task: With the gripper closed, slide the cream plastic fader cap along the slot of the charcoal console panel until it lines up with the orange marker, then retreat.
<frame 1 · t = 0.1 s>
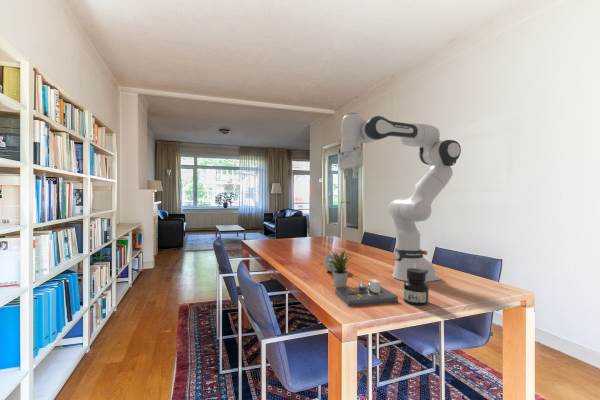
hand: (350, 178, 139), 48 cm above the table, fingers open, 8 cm apart
console: (365, 297, 118), on the table
fader cap: (374, 285, 119), point 4 cm above the table, slide at -4.0 cm
house plant: (339, 285, 135), on the table
ink bottle: (415, 302, 114), on the table
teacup: (333, 272, 157), on the table
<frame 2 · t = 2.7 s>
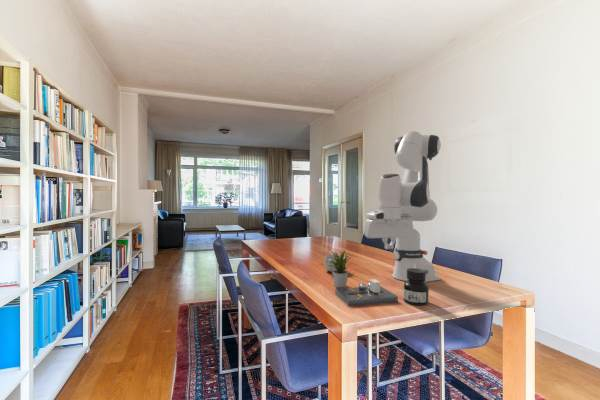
hand: (388, 248, 120), 19 cm above the table, fingers closed
nothing on the table moved.
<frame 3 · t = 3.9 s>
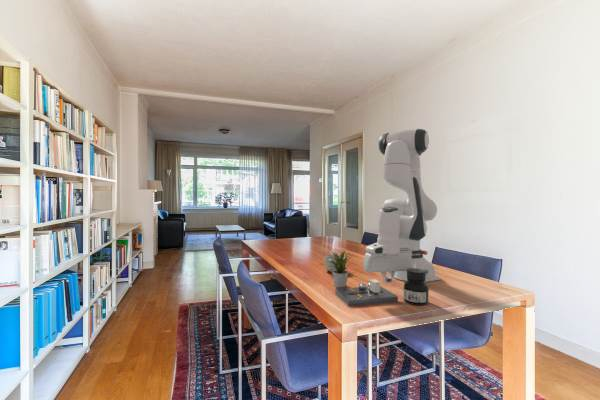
hand: (387, 282, 120), 6 cm above the table, fingers closed
nothing on the table moved.
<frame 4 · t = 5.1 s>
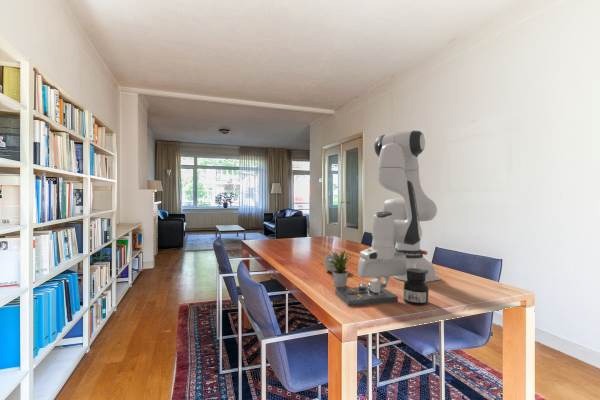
hand: (382, 287, 120), 4 cm above the table, fingers closed
fader cap: (374, 285, 119), point 4 cm above the table, slide at -4.0 cm, touching gripper
everything else where it was.
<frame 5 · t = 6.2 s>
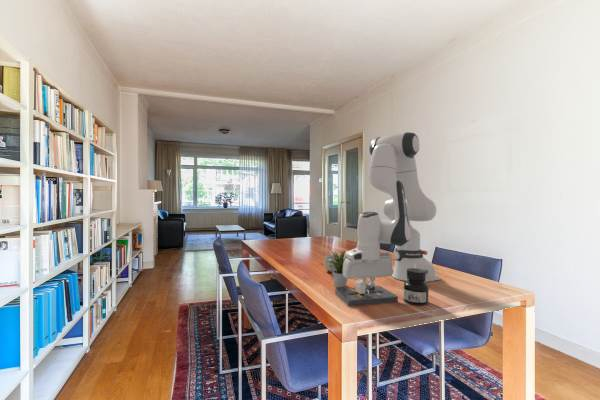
hand: (367, 288, 118), 4 cm above the table, fingers closed
fader cap: (360, 286, 118), point 4 cm above the table, slide at 2.3 cm, touching gripper
everything else where it was.
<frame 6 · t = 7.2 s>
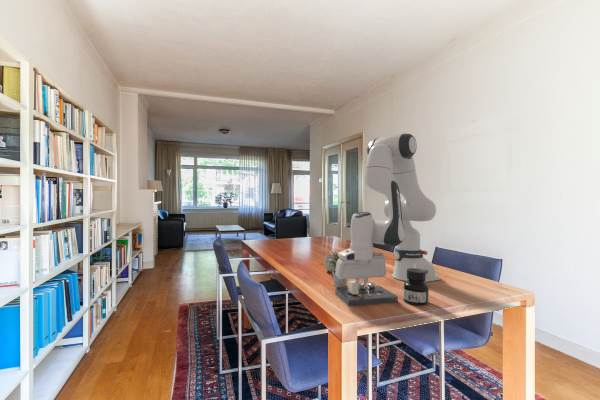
hand: (360, 288, 118), 4 cm above the table, fingers closed
fader cap: (353, 287, 117), point 4 cm above the table, slide at 5.3 cm, touching gripper
everything else where it was.
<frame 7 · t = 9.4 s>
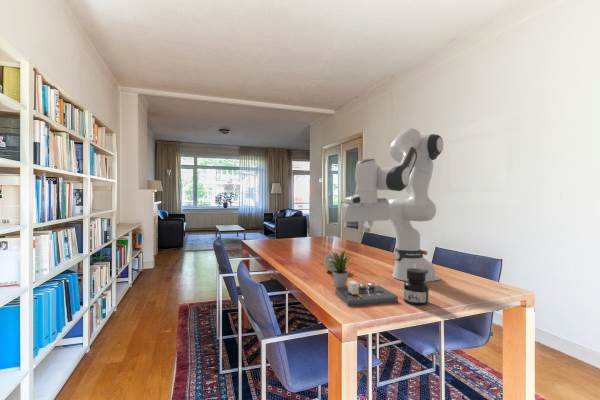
hand: (366, 232, 124), 25 cm above the table, fingers closed
fader cap: (353, 287, 117), point 4 cm above the table, slide at 5.3 cm
everything else where it was.
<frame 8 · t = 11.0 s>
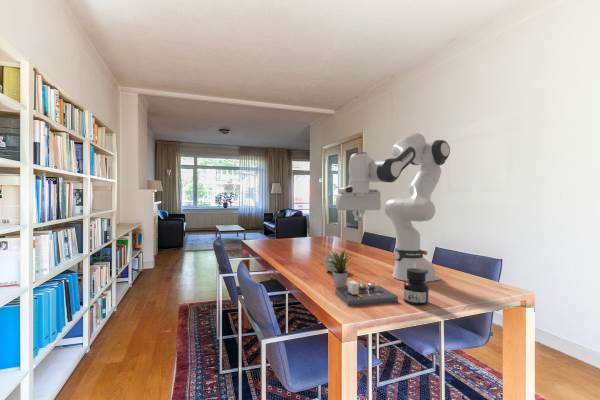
hand: (358, 220, 132), 29 cm above the table, fingers closed
nothing on the table moved.
at the end: fader cap slide at 5.3 cm; fader cap 1.0 cm from the target spot, resting on console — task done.
